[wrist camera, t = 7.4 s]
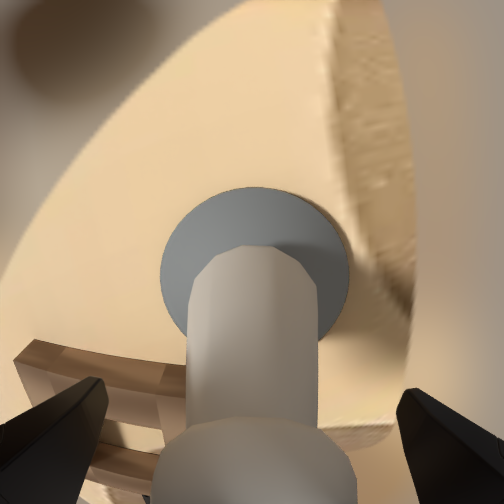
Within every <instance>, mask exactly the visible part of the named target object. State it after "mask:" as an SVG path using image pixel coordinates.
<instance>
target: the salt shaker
mask: <svg viewBox="0 0 504 504" xmlns="http://www.w3.org/2000/svg"><path fill="white" fill-rule="evenodd" d="M317 419H318V303H317V288H316V285H315V283H314V282H313V280H312V279H311V278H310V276H309V275H308V273H307V272H306V270H305V269H304V268H303V266H302V265H301V263H300V262H298V261H297V260H295V259H294V258H292V257H290V256H288V255H287V254H285V253H283V252H282V251H280V250H278V249H276V248H275V247H273V246H255V245H241V246H239V247H236V248H233V249H231V250H228V251H226V252H223V253H220V254H218V255H216V256H215V257H214V258H213V259H212V260H211V261H210V262H209V263H208V264H207V266H206V267H205V268H204V269H203V270H202V271H201V272H200V273H199V275H198V276H197V277H196V278H195V279H194V283H193V287H192V291H191V295H190V300H189V304H188V322H187V350H186V430H185V431H184V432H182V433H181V434H180V435H178V436H177V437H175V438H174V439H173V440H171V441H170V442H168V444H167V445H166V446H165V447H164V449H163V450H162V451H161V453H160V456H159V459H158V462H157V465H156V468H155V471H154V474H153V479H152V485H151V492H150V504H358V503H357V479H356V476H355V473H354V471H353V468H352V466H351V463H350V460H349V458H348V456H347V455H346V454H345V453H344V451H343V450H342V449H341V448H340V447H339V446H338V445H337V444H336V443H335V442H334V441H333V440H332V439H331V438H330V437H328V436H327V435H326V434H325V433H324V432H323V431H322V430H321V429H318V428H317Z"/></svg>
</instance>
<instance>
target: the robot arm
mask: <svg viewBox="0 0 504 504" xmlns="http://www.w3.org/2000/svg"><path fill="white" fill-rule="evenodd" d="M108 404H109V397H108V394H107V390H106V387H105V383H104V380H103V379H102V378H100V377H96V376H88V377H86V378H84V379H83V380H81V381H79V382H77V383H76V384H74V385H72V386H70V387H69V388H67V389H65V390H63V391H61V392H60V393H58V394H56V395H54V396H53V397H51V398H49V399H47V400H45V401H44V402H42V403H40V404H38V405H36V406H35V407H33V408H31V409H29V410H27V411H26V412H24V413H22V414H20V415H18V416H16V417H15V418H13V419H11V420H9V421H7V422H6V423H5V424H1V425H0V504H76V502H77V499H78V496H79V494H80V491H81V488H82V485H83V482H84V480H85V477H86V474H87V472H88V469H89V466H90V464H91V461H92V458H93V456H94V453H95V451H96V448H97V445H98V442H99V438H100V434H101V430H102V426H103V423H104V419H105V415H106V412H107V408H108ZM396 416H397V420H398V425H399V429H400V434H401V439H402V444H403V449H404V453H405V457H406V460H407V463H408V466H409V469H410V473H411V476H412V479H413V482H414V486H415V489H416V492H417V496H418V499H419V503H420V504H504V441H503V440H502V439H500V438H497V437H496V436H495V435H493V434H491V433H490V432H488V431H486V430H485V429H483V428H482V427H480V426H478V425H477V424H475V423H473V422H472V421H470V420H468V419H467V418H465V417H463V416H462V415H460V414H459V413H457V412H455V411H454V410H452V409H451V408H449V407H447V406H446V405H444V404H442V403H441V402H439V401H438V400H436V399H434V398H433V397H431V396H430V395H428V394H426V393H425V392H423V391H422V390H420V389H418V388H412V389H406V390H405V391H404V393H403V395H402V397H401V399H400V402H399V404H398V406H397V409H396ZM142 496H143V498H144V500H145V502H146V504H150V496H147V495H143V494H142Z"/></svg>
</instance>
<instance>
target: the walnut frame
mask: <svg viewBox="0 0 504 504" xmlns="http://www.w3.org/2000/svg"><path fill="white" fill-rule="evenodd" d="M13 361H14V364H15V367H16V369H17V372H18V374H19V377H20V379H21V382H22V384H23V386H24V389H25V391H26V393H27V395H28V398H29V400H30V402H31V404H32V406H33V407H35V406H36V405H38V404H40V403H42V402H44V401H45V400H47V399H49V398H51V397H53V396H54V395H56V394H58V393H60V392H61V391H63V390H65V389H67V388H69V387H70V386H72V385H74V384H76V383H77V382H79V381H81V380H83V379H84V378H86V377H88V376H96V377H100V378H102V379H103V380H104V383H105V387H106V390H107V394H108V397H109V404H108V408H107V412H106V415H105V419H109V420H113V421H118V422H122V423H127V424H132V425H137V426H143V427H148V428H154V429H160V430H162V432H163V437H164V442H165V446H166V445H167V444H168V442H170V441H171V440H173V439H174V438H175V437H177V436H178V435H180V434H181V433H182V432H184V431H185V430H186V366H182V365H173V364H164V363H156V362H149V361H142V360H135V359H128V358H122V357H116V356H110V355H104V354H99V353H93V352H88V351H83V350H78V349H74V348H69V347H64V346H60V345H56V344H51V343H47V342H43V341H39V340H35V339H34V340H33V341H32V342H31V343H30V344H29V345H28V346H27V347H26V348H25V349H24V350H23V351H22V352H21V353H20V354H19V355H18V356H17V357H16V358H15V359H14V360H13ZM159 456H160V455H155V454H150V453H144V452H139V451H134V450H130V449H125V448H121V447H117V446H113V445H109V444H105V443H101V442H100V441H99V442H98V445H97V448H96V451H95V453H94V456H93V458H92V461H91V464H90V466H89V469H88V472H87V474H86V477H85V479H87V480H90V481H93V482H96V483H100V484H103V485H107V486H110V487H114V488H118V489H121V490H125V491H129V492H134V493H138V494H143V495H147V496H150V492H151V485H152V479H153V474H154V471H155V468H156V465H157V462H158V459H159Z"/></svg>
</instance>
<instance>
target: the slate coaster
mask: <svg viewBox="0 0 504 504" xmlns="http://www.w3.org/2000/svg"><path fill="white" fill-rule="evenodd" d="M241 245H255V246H273V247H275V248H276V249H278V250H280V251H282V252H283V253H285V254H287V255H288V256H290V257H292V258H294V259H295V260H297V261H298V262H300V263H301V265H302V266H303V268H304V269H305V270H306V272H307V273H308V275H309V276H310V278H311V279H312V280H313V282H314V283H315V285H316V288H317V303H318V340H320V339H321V338H322V337H323V336H324V335H325V334H326V333H327V332H328V331H329V329H330V328H331V327H332V325H333V324H334V323H335V321H336V319H337V318H338V316H339V314H340V312H341V310H342V308H343V305H344V303H345V300H346V296H347V292H348V284H349V266H348V260H347V255H346V252H345V249H344V246H343V243H342V241H341V239H340V237H339V235H338V233H337V232H336V231H335V229H334V228H333V226H332V225H331V223H330V222H329V221H328V220H327V219H326V218H325V217H324V216H323V215H322V214H321V213H320V212H319V211H318V210H316V209H315V208H314V207H313V206H311V205H310V204H309V203H307V202H305V201H304V200H302V199H300V198H299V197H296V196H294V195H292V194H289V193H287V192H283V191H280V190H276V189H271V188H263V187H246V188H239V189H233V190H230V191H226V192H223V193H220V194H218V195H216V196H213V197H211V198H209V199H207V200H206V201H204V202H203V203H201V204H199V205H198V206H197V207H196V208H194V209H193V210H192V211H191V212H190V213H188V214H187V215H186V216H185V217H184V219H183V220H182V221H181V222H180V223H179V224H178V225H177V227H176V228H175V230H174V231H173V233H172V234H171V236H170V238H169V240H168V243H167V245H166V247H165V250H164V253H163V257H162V262H161V268H160V283H161V291H162V295H163V299H164V303H165V305H166V307H167V310H168V312H169V314H170V316H171V318H172V319H173V321H174V323H175V324H176V325H177V327H178V328H179V329H180V331H181V332H182V333H183V334H184V335H185V336H186V337H187V322H188V304H189V300H190V295H191V291H192V287H193V283H194V279H195V278H196V277H197V276H198V275H199V273H200V272H201V271H202V270H203V269H204V268H205V267H206V266H207V264H208V263H209V262H210V261H211V260H212V259H213V258H214V257H215V256H216V255H218V254H220V253H223V252H226V251H228V250H231V249H233V248H236V247H239V246H241Z"/></svg>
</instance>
